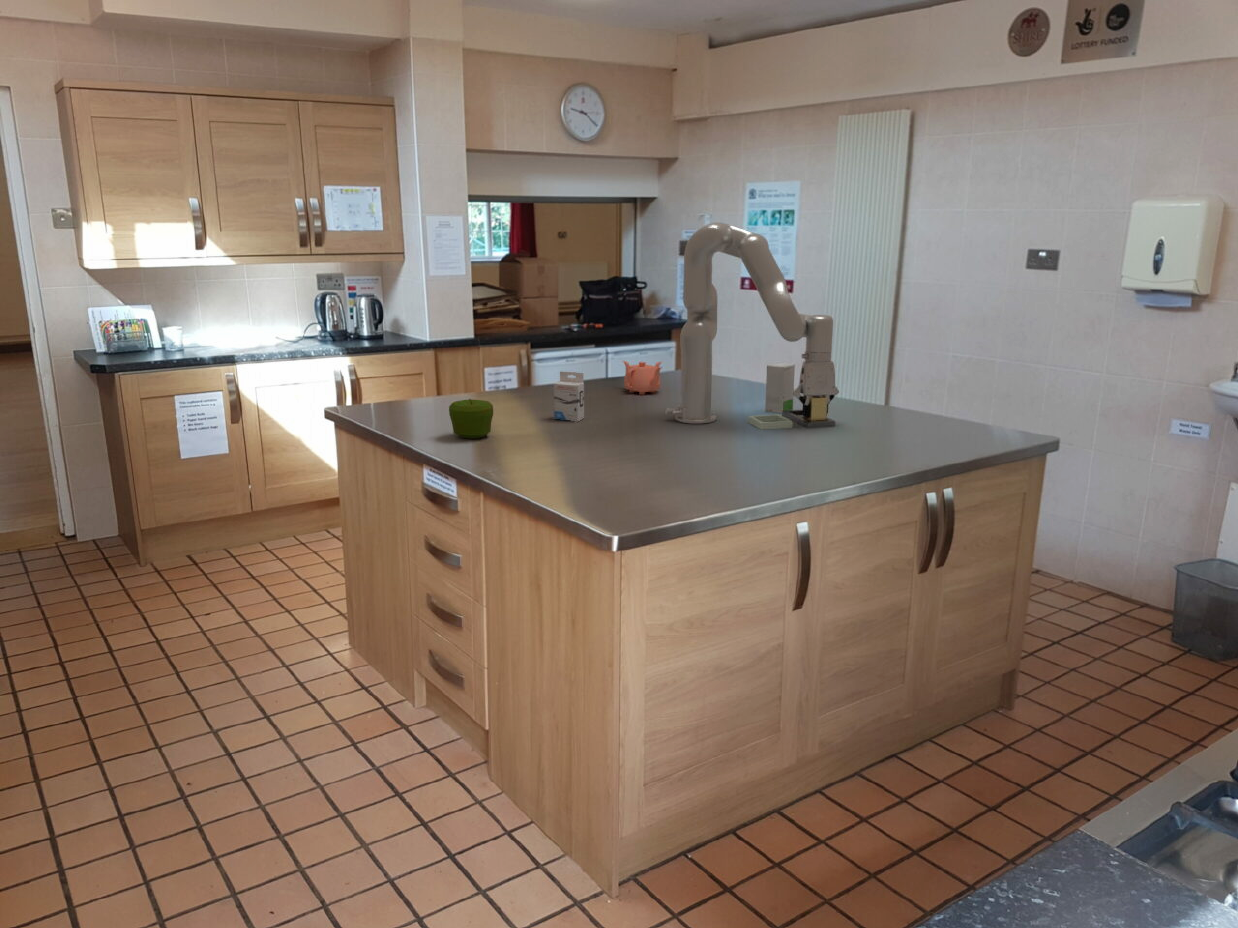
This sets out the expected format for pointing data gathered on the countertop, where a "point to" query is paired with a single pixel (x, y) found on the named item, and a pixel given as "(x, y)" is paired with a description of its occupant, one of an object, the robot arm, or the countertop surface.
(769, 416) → the tray
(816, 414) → the pale yellow tall block
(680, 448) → the countertop surface
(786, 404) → the skincare box
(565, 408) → the ink box
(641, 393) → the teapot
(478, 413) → the apple
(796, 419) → the grey metal tray
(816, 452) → the countertop surface
